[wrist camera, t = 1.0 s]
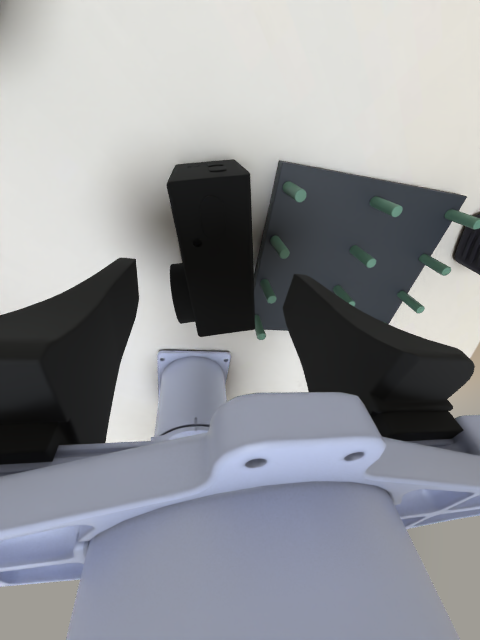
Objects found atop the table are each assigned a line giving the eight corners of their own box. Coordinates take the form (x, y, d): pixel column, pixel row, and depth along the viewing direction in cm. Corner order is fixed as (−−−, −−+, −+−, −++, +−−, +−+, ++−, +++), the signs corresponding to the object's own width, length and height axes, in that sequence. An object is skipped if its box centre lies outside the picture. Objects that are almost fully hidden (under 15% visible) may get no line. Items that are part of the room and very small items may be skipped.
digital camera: (156, 164, 18) (140, 181, 13) (233, 157, 19) (250, 171, 13) (184, 291, 25) (182, 340, 19) (242, 284, 25) (255, 330, 19)
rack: (377, 329, 31) (398, 352, 28) (243, 323, 28) (250, 348, 25) (458, 194, 23) (501, 205, 19) (278, 160, 19) (295, 167, 16)
